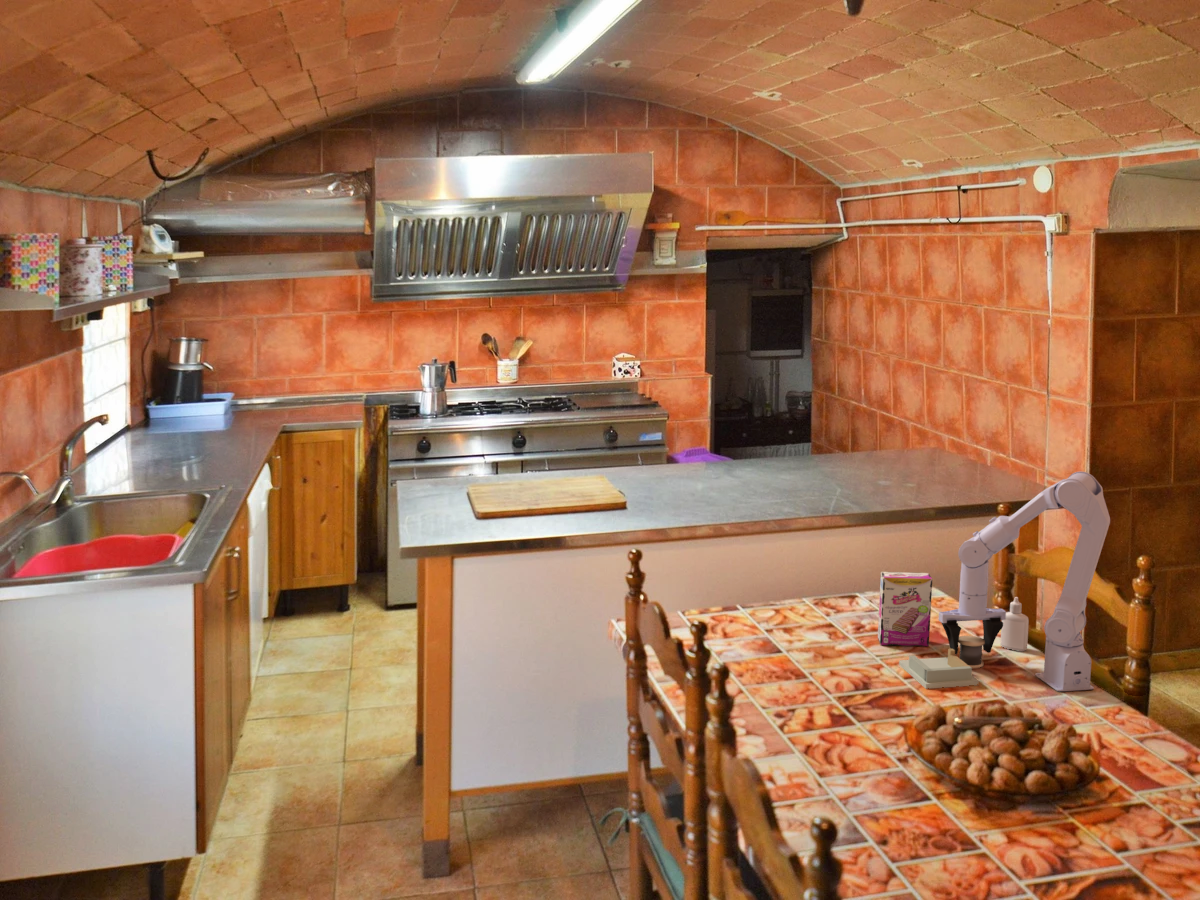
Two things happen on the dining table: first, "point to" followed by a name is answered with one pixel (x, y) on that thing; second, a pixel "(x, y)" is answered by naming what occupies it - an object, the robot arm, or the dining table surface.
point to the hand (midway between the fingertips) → (970, 652)
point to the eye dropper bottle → (1015, 628)
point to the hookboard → (939, 671)
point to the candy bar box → (904, 609)
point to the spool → (971, 650)
